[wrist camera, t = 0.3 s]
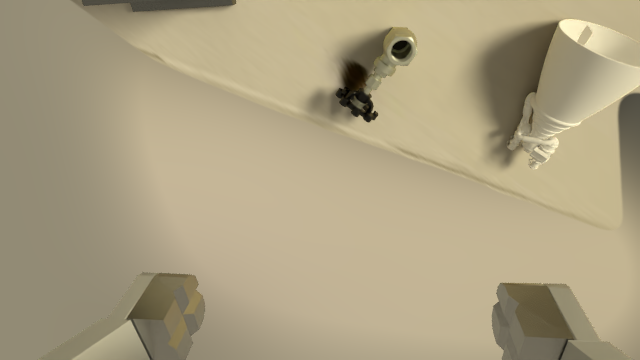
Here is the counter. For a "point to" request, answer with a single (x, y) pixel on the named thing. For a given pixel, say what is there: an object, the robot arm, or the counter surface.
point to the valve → (380, 72)
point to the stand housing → (162, 3)
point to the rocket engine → (576, 84)
